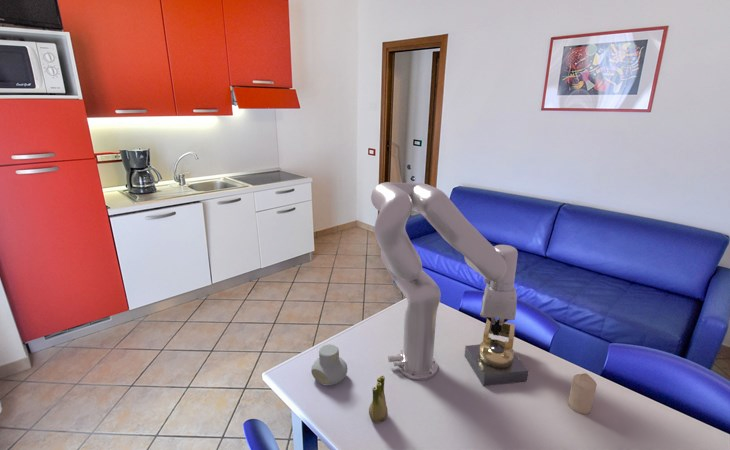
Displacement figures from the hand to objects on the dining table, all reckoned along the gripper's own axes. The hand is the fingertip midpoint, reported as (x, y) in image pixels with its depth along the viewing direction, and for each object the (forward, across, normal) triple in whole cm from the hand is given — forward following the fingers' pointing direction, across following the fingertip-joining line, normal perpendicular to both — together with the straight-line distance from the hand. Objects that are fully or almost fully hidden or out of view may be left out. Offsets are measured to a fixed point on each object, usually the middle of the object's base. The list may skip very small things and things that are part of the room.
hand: (495, 333), depth 122 cm
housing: (+7, -1, -8) cm, 11 cm away
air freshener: (+7, -51, -23) cm, 56 cm away
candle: (+8, +20, -20) cm, 30 cm away
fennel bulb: (+7, -34, -35) cm, 49 cm away
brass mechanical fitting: (+3, 0, -4) cm, 6 cm away
